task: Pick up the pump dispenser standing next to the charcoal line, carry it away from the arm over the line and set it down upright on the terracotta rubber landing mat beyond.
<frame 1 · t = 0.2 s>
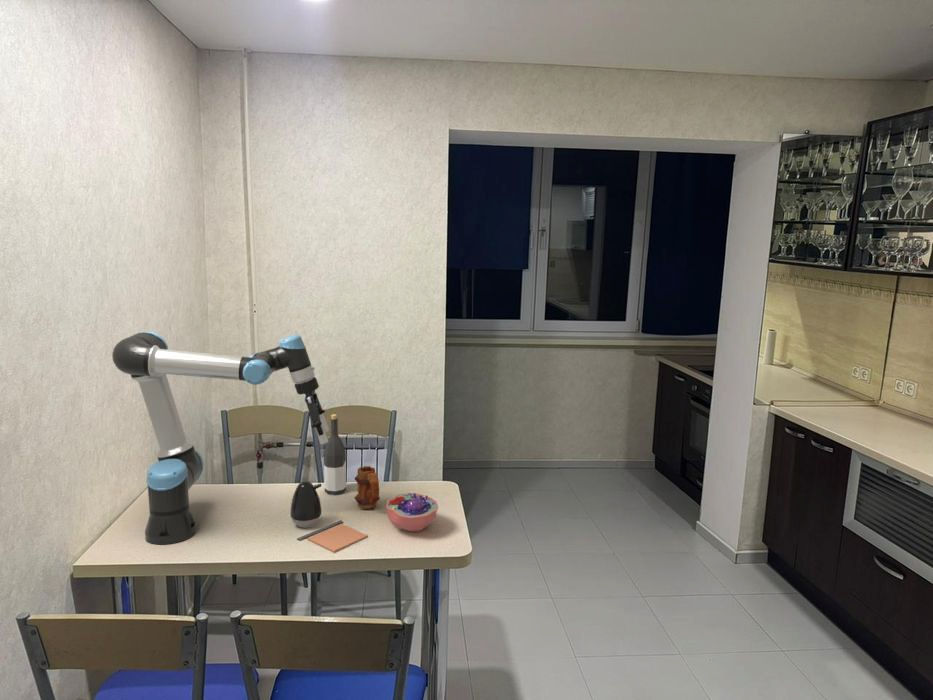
hand: (325, 437, 225), 27 cm above the table, tool tilted 15°, fingers open, 13 cm apart
pump dispenser: (306, 524, 221), on the table
wine bottle: (335, 491, 249), on the table
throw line: (320, 530, 216), on the table
cell model: (411, 527, 220), on the table
landing mat: (337, 538, 211), on the table
mug: (369, 509, 233), on the table
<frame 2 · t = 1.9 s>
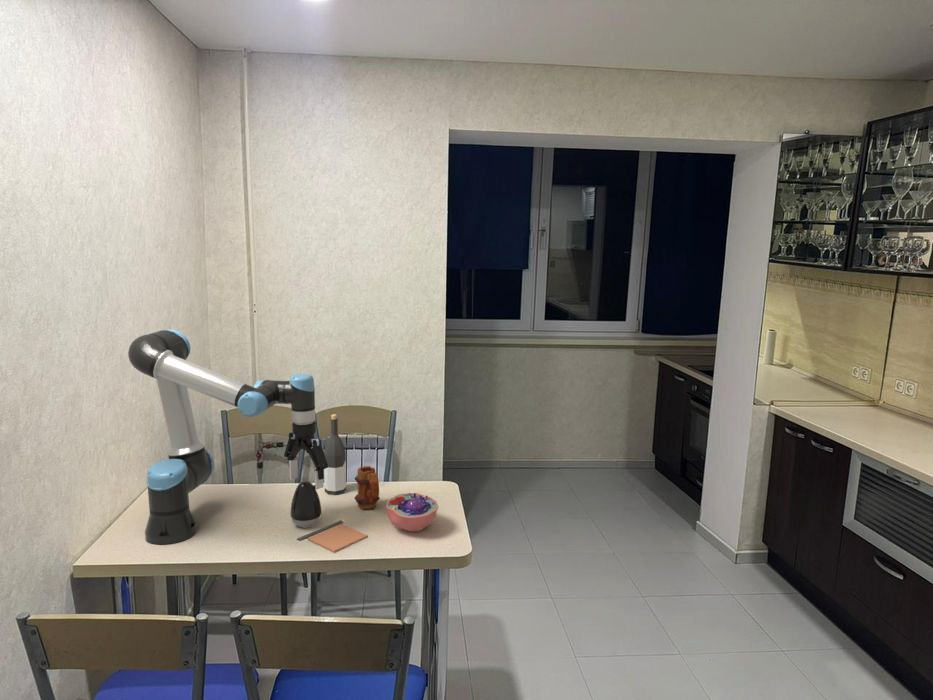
hand: (306, 483, 218), 15 cm above the table, tool pointing down, fingers open, 13 cm apart
nothing on the table moved.
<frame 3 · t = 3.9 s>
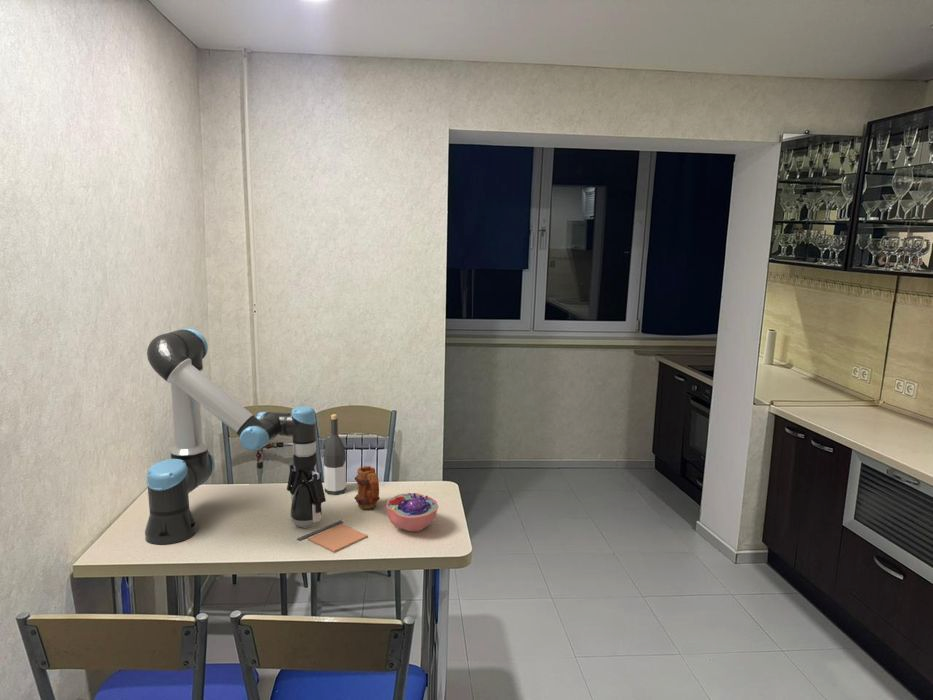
hand: (306, 516, 220), 3 cm above the table, tool pointing down, fingers closed on pump dispenser, 10 cm apart
pump dispenser: (306, 524, 220), on the table, touching gripper
everything else where it was.
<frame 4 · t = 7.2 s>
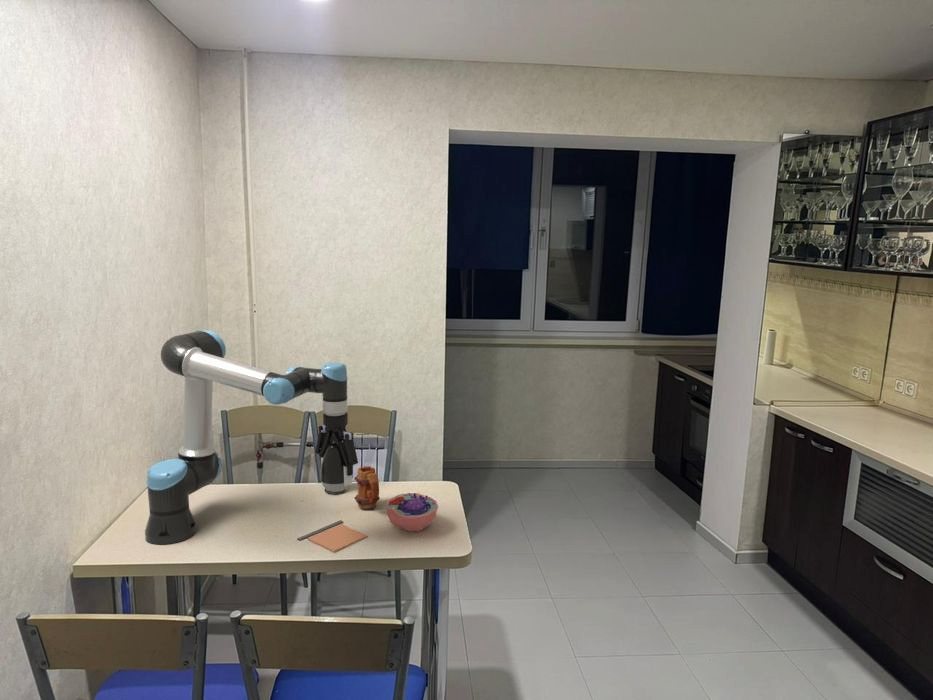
hand: (336, 480, 207), 20 cm above the table, tool pointing down, fingers closed on pump dispenser, 10 cm apart
pump dispenser: (337, 489, 208), point 17 cm above the table, touching gripper
everything else where it was.
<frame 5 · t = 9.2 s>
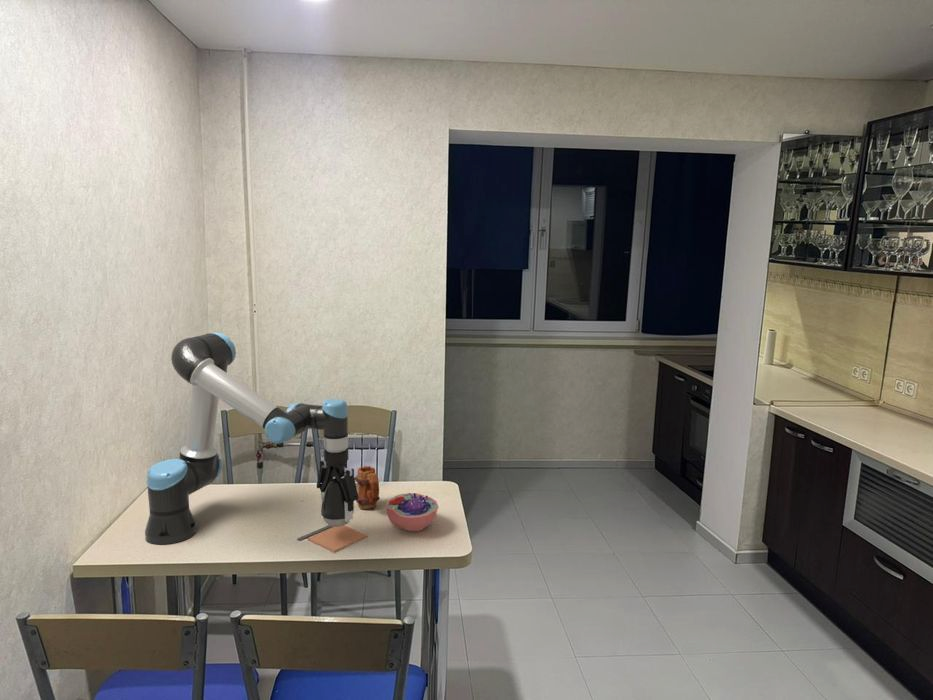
hand: (337, 515, 209), 8 cm above the table, tool pointing down, fingers closed on pump dispenser, 10 cm apart
pump dispenser: (338, 523, 210), point 5 cm above the table, touching gripper
everything else where it was.
when the fingers open (5 cm above the table, at t = 10.9 s): pump dispenser drops 1 cm, resting on landing mat.
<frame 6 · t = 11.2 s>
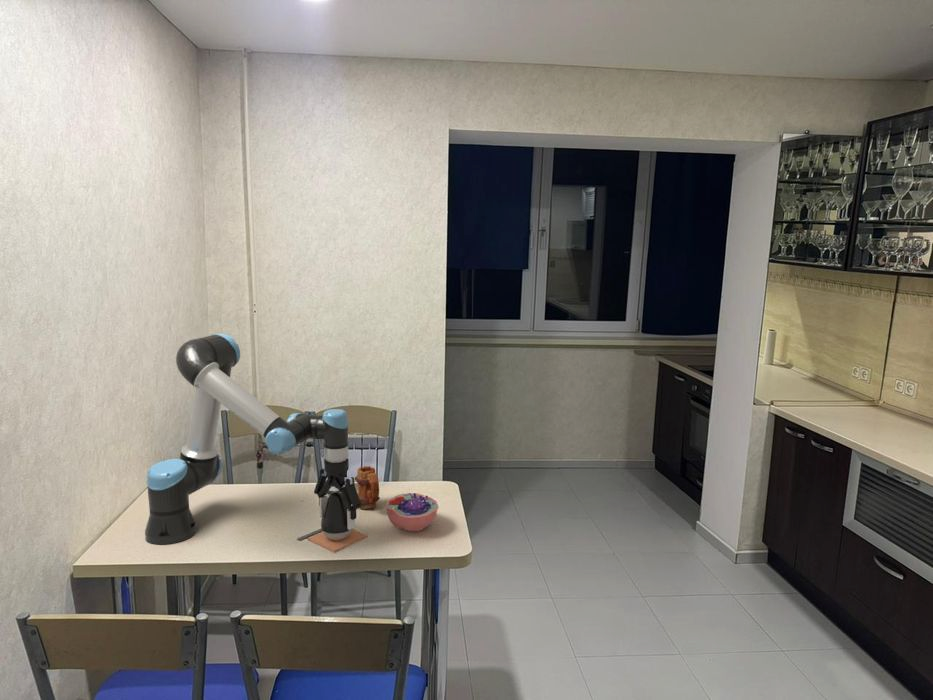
hand: (337, 522, 210), 6 cm above the table, tool pointing down, fingers open, 13 cm apart
pump dispenser: (337, 537, 211), resting on landing mat
everything else where it was.
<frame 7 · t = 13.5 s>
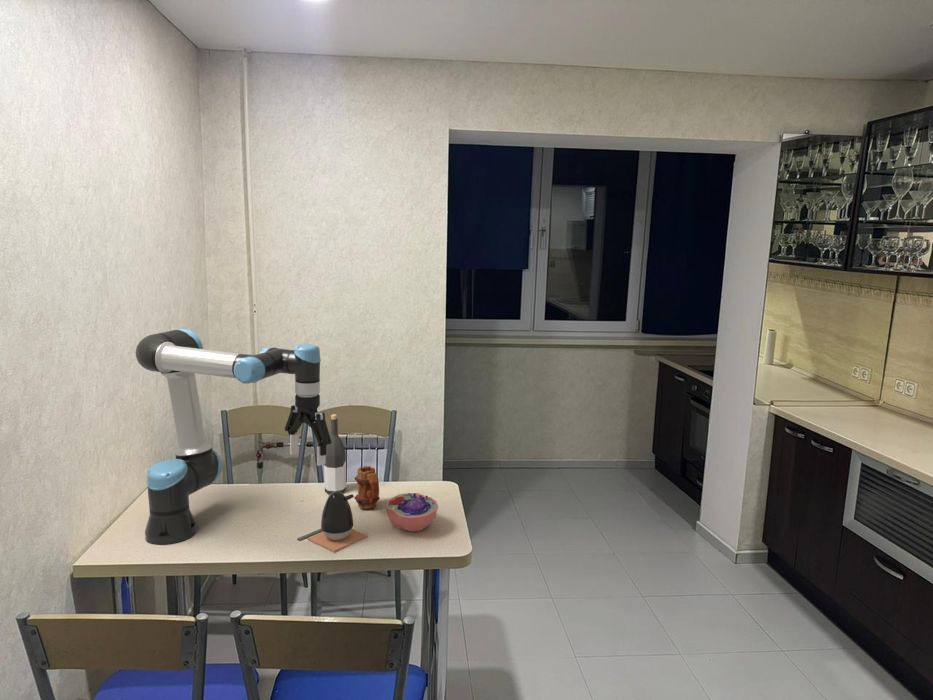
hand: (307, 459, 208), 26 cm above the table, tool pointing down, fingers open, 13 cm apart
nothing on the table moved.
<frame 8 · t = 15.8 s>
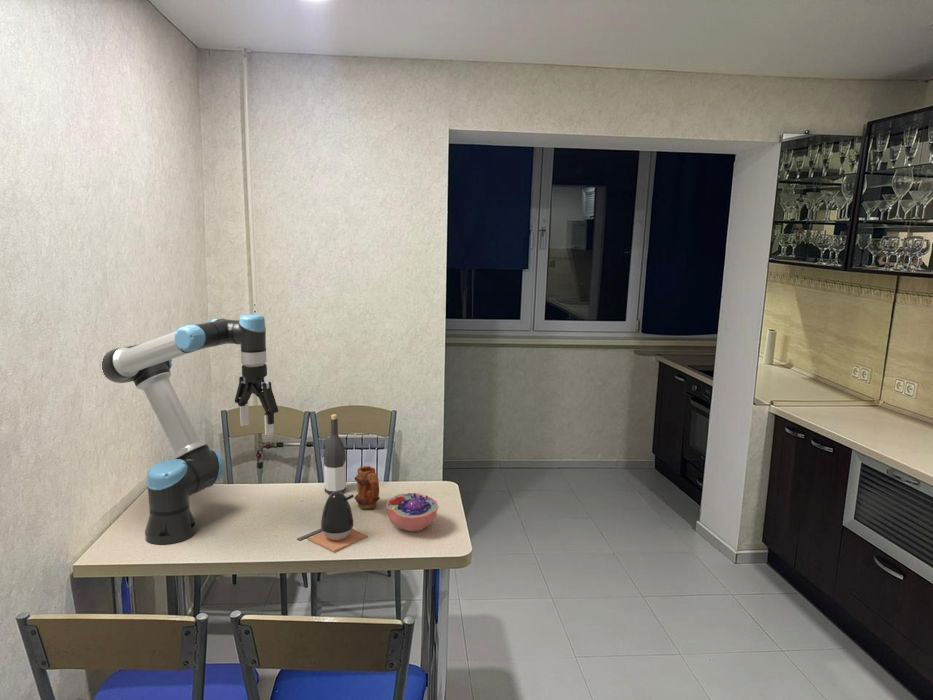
hand: (256, 429, 209), 35 cm above the table, tool pointing down, fingers open, 13 cm apart
nothing on the table moved.
at the end: pump dispenser inside the target area (0.5 cm from its centre), resting on landing mat; pump dispenser tilted 0°; the gripper is holding nothing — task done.
